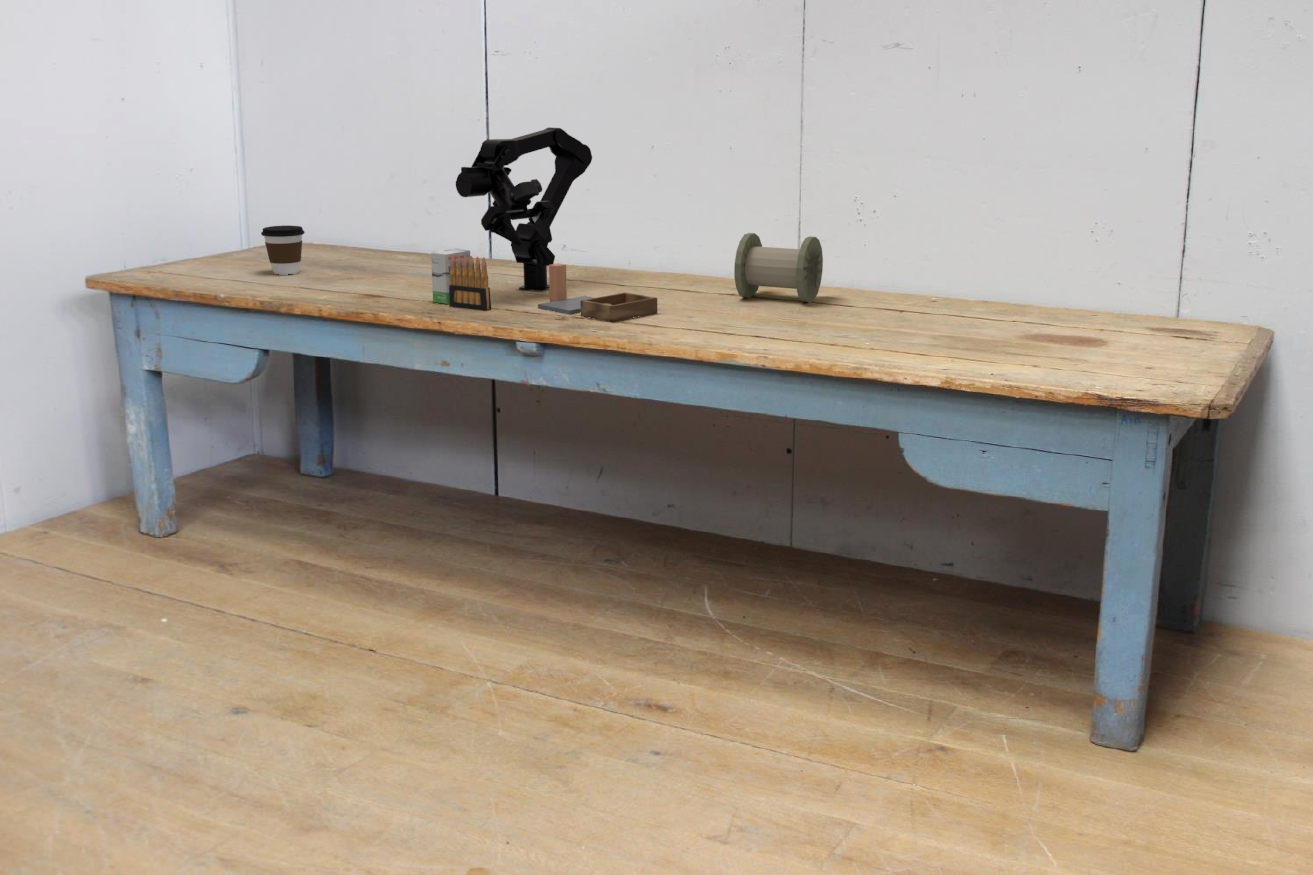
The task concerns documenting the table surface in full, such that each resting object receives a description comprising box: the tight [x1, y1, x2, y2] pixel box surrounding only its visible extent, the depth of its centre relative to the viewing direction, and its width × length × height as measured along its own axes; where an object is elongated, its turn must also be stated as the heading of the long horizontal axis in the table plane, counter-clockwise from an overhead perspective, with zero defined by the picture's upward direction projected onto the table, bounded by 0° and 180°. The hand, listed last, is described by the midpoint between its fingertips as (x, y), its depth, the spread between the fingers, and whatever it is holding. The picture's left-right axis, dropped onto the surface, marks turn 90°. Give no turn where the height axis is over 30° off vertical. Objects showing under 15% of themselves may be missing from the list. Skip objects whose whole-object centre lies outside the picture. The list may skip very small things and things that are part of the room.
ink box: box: [430, 248, 471, 305], centre depth 302 cm, size 9×5×12 cm, turn 144°
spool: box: [733, 232, 824, 304], centre depth 303 cm, size 16×15×15 cm
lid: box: [537, 263, 595, 316], centre depth 295 cm, size 13×15×9 cm
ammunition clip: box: [448, 254, 492, 312], centre depth 293 cm, size 11×2×12 cm, turn 60°
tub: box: [580, 292, 658, 323], centre depth 286 cm, size 10×14×4 cm
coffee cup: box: [261, 225, 306, 276], centre depth 340 cm, size 11×11×12 cm
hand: (535, 243), depth 299 cm, fingers open, 9 cm apart
